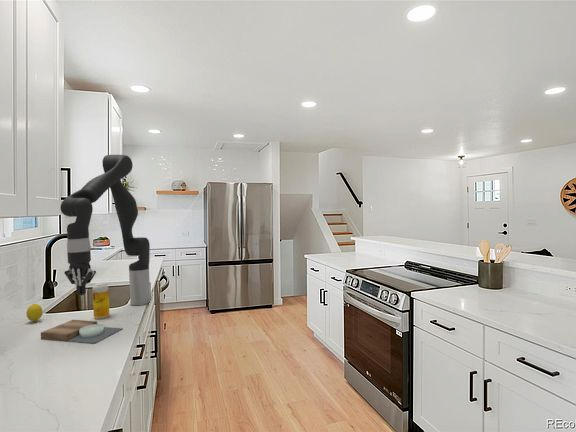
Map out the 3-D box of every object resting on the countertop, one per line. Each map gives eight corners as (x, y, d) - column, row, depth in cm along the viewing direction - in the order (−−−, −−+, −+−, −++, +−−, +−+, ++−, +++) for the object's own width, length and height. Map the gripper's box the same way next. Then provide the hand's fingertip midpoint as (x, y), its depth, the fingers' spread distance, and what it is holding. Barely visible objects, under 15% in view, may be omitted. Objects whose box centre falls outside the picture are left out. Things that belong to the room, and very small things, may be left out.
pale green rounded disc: (91, 329, 132) (91, 323, 132) (108, 330, 130) (108, 324, 130) (74, 337, 124) (74, 331, 124) (92, 338, 122) (92, 332, 122)
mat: (98, 327, 135) (98, 326, 135) (122, 329, 132) (122, 328, 132) (67, 341, 121) (67, 340, 121) (94, 343, 118) (94, 342, 118)
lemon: (34, 324, 140) (33, 305, 140) (23, 323, 141) (22, 305, 141) (46, 319, 146) (45, 301, 145) (35, 319, 147) (34, 301, 146)
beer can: (90, 318, 146) (89, 284, 146) (104, 314, 151) (102, 281, 151) (99, 320, 143) (97, 286, 143) (112, 316, 149) (111, 282, 148)
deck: (73, 325, 138) (72, 319, 138) (97, 327, 135) (97, 321, 135) (40, 339, 124) (40, 332, 124) (67, 341, 121) (66, 334, 121)
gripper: (101, 248, 129) (103, 293, 130) (73, 248, 132) (75, 291, 133) (85, 251, 122) (87, 298, 122) (56, 251, 125) (58, 297, 125)
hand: (81, 294), depth 128 cm, fingers closed
